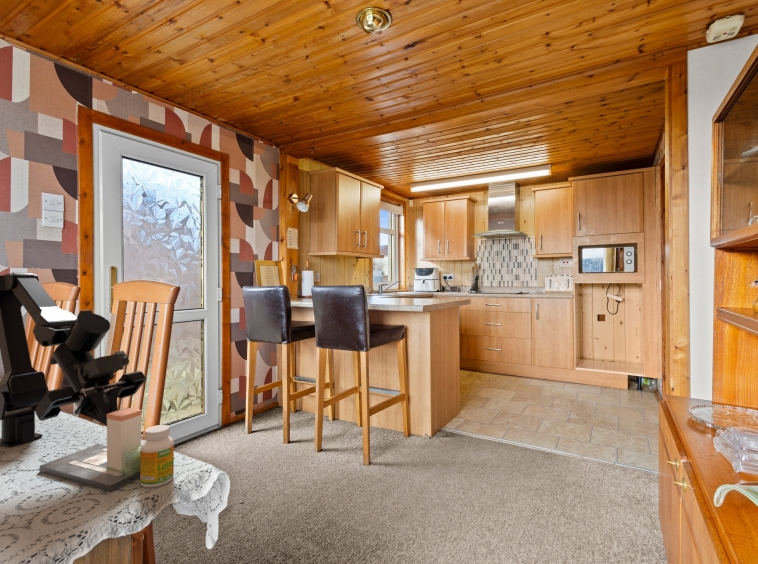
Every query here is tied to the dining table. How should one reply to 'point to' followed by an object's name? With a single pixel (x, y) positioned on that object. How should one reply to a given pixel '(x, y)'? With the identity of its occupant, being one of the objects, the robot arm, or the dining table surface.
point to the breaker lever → (122, 435)
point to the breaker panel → (95, 468)
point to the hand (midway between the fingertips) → (116, 426)
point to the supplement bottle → (157, 457)
